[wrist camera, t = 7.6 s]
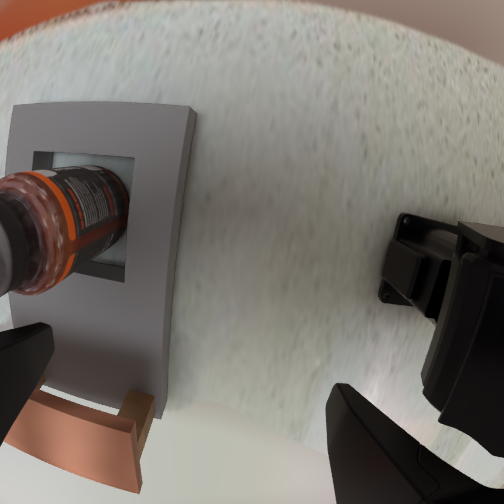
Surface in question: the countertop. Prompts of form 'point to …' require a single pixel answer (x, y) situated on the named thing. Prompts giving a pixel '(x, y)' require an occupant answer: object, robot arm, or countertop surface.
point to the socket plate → (137, 248)
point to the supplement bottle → (56, 224)
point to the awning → (86, 436)
